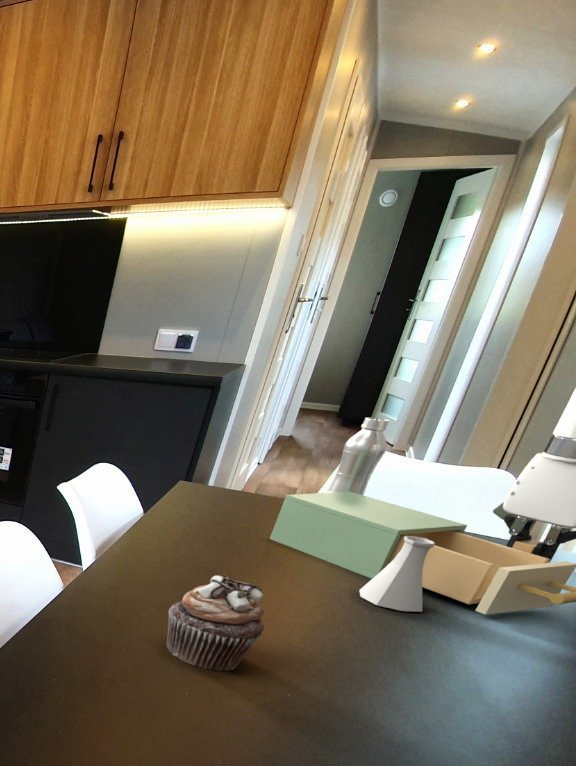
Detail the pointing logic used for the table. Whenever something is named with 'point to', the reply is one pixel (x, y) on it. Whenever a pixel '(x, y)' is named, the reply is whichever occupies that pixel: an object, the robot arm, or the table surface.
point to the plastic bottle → (361, 457)
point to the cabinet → (351, 528)
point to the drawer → (491, 573)
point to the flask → (400, 578)
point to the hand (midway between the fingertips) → (523, 561)
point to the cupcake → (216, 623)
